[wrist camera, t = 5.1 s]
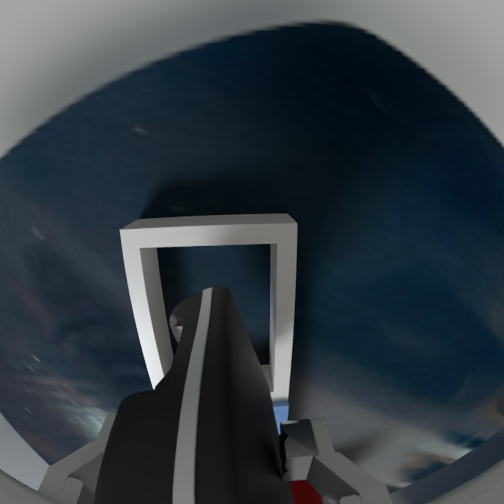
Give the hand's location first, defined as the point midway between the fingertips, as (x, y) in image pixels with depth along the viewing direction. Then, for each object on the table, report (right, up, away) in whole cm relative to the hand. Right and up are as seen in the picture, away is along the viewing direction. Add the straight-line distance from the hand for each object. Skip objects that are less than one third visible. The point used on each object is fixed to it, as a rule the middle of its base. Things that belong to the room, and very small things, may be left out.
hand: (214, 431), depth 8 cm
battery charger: (-1, +2, +5) cm, 6 cm away
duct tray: (-1, -3, +12) cm, 12 cm away
